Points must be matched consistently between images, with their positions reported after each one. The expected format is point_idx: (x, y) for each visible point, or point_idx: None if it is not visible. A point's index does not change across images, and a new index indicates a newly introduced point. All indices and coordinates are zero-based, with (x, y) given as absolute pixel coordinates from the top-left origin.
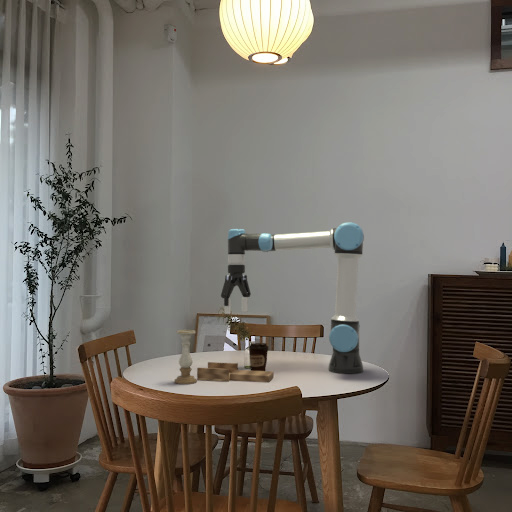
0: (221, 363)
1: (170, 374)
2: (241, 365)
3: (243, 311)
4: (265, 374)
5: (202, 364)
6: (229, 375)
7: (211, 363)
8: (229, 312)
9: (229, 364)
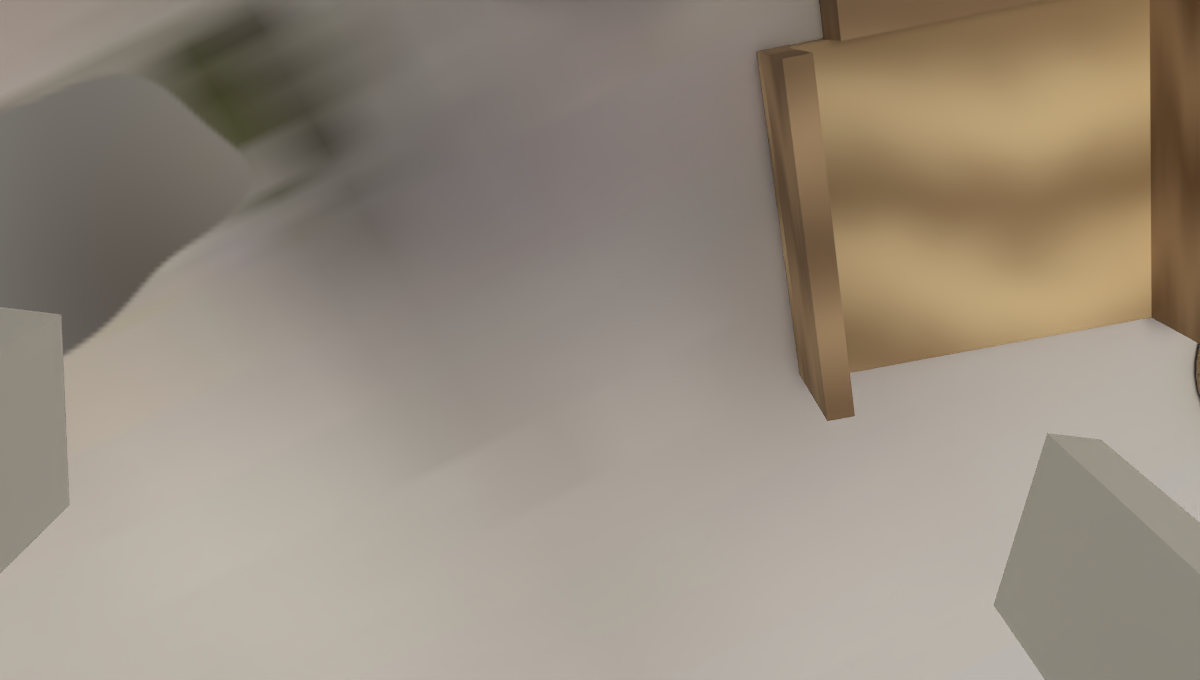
0: (834, 255)
1: (976, 643)
2: (190, 276)
3: (63, 437)
4: None
5: (363, 652)
6: (948, 66)
7: (846, 371)
8: (1118, 462)
9: (821, 154)
